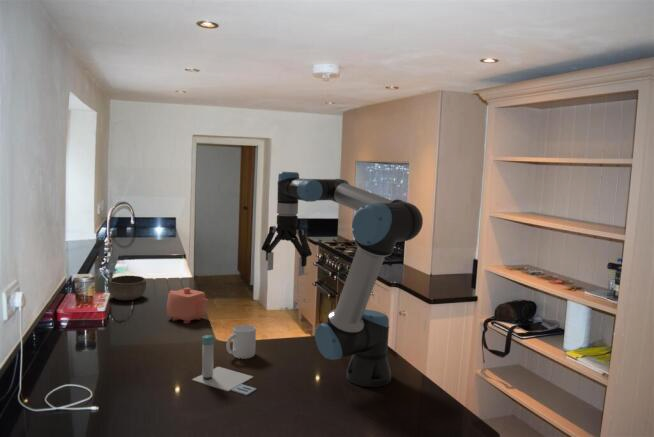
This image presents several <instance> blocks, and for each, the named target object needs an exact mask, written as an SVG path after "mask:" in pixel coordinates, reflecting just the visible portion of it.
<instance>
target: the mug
mask: <svg viewBox="0 0 654 437" xmlns="http://www.w3.org/2000/svg"><path fill="white" fill-rule="evenodd" d="M256 332H257V327H256V326H255V325H252V324H251V325H250V324H239V325H238V324H237V325H235V326H233V328H232V334H231V335H229V337H228V338H227V341H226V345H225V346H226V347H225V348H226V351H227V353H229V354H231V355H232V356H233V357H235V358H237V359H240V358H241V359H243V360H244V359H245V360H246V359H250V358H253V357H254V356H255V355H256V342H257V341H256V340H257V339H256V338H257V336H256V335H257V333H256ZM231 342H232V349H231Z"/></svg>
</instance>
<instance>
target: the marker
mask: <svg viewBox="0 0 654 437" xmlns="http://www.w3.org/2000/svg"><path fill="white" fill-rule="evenodd" d="M214 344H215V336H214V335H212V334H206V335H202V337H201V345H202V348H201V352H202V353H201V356H202V358H201V360H202V361H201V375H202V376H203V379H204V380H210V379H212V376H213V369H214V355H215V354H214V352H215V351H214V348H215V346H214Z"/></svg>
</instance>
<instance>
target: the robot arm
mask: <svg viewBox="0 0 654 437" xmlns="http://www.w3.org/2000/svg"><path fill="white" fill-rule="evenodd" d="M276 199H277V204H276V214H277V216H276V225H277V226H276V225H273V226H272V225H271V226H269V229H268V230H269V231H268V233H267V236H265V237H266V238H265V240H264V242H263V244H262V246H261V250H262V251H264V252H265V261H266V262H267V263H266V264H267V265H266V266H267V267H266V268H267V271H268V272H270V271H273V270H274V252H273V250H274V249H275V248H276V246H277V245H278V244H279V243H280V242H281V241H286V242H287V241H288V242H291V244H293V246H294V248H295V249H296V251H297V252H298V253H299V254H298V255H300V257H299V258H298V276H305V267H306V266H307V264H308V263H307V259H308V257H311V256H312V255H313V254H312V250H311V248H310V245H309V242H308V240H307V237H306V230H305V229H304V228H303V229H298V224H299V223H298V218H299V217H298V213H299V201H303V202H307V203H308V202H310V203H311V202H317V201H332V202H333V203H337V204H339V205H342V206H344V207H347V208H348V209H351V210H354V211H355V212H356V213H355V214H354V216H353V219H352V223H351V228H352V229H353V230H352V235H353V237H354V243H355V245H356V247H357V248H356V250H355V254H354V256H353V259H352V262H351V265H350V268H349V271H348V273H347V276H346V279H345V282H344V285H343V287H342V291H341V293H340V296H339V299H338V301H337V302H338V303H337V305H336V308H333V309H332V310H330V312H329V313H328V316H327V319H326V322H321V323H319V324H318V325H317V326H316V328H315V332H314V338H315V344H316V347H317V348H318V352H320V354H321V355H322V356H323V357H324V358H325V359H328V360H331V361H332V360H340V359H342V358H347V357H349V356H350V357H351V359H350V361H349V363H348V366H347V368H346V375H345V376H346V379H347V381H348V382H350V383H352V384H354V385H356V386H360V387H365V388H379V387H384V386H386V385H389V383H391V381H392V371H391V368H390V365H389V360H388V346H389V345H388V344H389V329H390V324H389V323H390V322H389V321H390V319H389V317H388V316H387V314H385V313H384V312H380V311H378V310H373V309H366V308H367V305H368V303H369V300H370V298H371V295H372V292H373V290H374V286H375V284H376V281H377V279H378V276H379V273H380V271H381V268H382V265H383V263H384V260H385V259H386V258H385V257H388V256H389V257H390V256H391V255H392V254H393V252H394V248H395V246H396V244H397V243H400V242H401V243H402V242H407V241H410V240H413V239H415V238H416V237H417V236H418V235H419V234H420V232H421V230H422V228H423V224H424V222H423V221H424V220H423V219H424V218H423V215H422V213H421V211H420V209H419V208H418V207H417V206H416V205H415V204H413V203H410V202H408V201H404V200H402V199H398V198H397V199H393V200H392V199H389V198H386V197H384V196H381V195H378V194H375V193H373V192H370V191H368V190H366V189H365V190H364V189H362V188H359V187H356V186H354V185H351V184H350V183H349V181H348V180H346V179H340V178H335V179H334V178H325V179H324V178H323V179H321V178H300V174H299V172H297V171H280V172H279V173H278V180H277V198H276ZM276 233H277V234H276ZM275 234H276V236H275ZM273 238H274V239H273Z"/></svg>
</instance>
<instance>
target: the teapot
mask: <svg viewBox="0 0 654 437" xmlns="http://www.w3.org/2000/svg"><path fill="white" fill-rule="evenodd" d="M167 294H168V296H167V303H166V316H168V317H170V318H172V319H171V320H172V321H175V322H176V321H179V320H182V321H183V324H188V325H189V324H190V323H191V321H194V320H196V321H197V320H202V317H205V316H206V314H207V303H208V301H209V299H208V298H206V293H205V291H204V292H203V291H200V290H195V289H191V287H184V288H181V289H178V290H169V291H168V293H167Z"/></svg>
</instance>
